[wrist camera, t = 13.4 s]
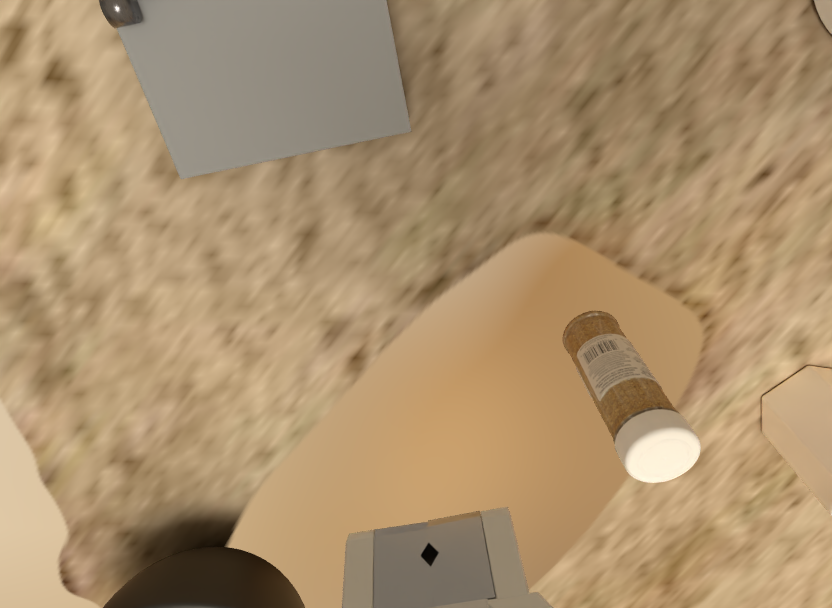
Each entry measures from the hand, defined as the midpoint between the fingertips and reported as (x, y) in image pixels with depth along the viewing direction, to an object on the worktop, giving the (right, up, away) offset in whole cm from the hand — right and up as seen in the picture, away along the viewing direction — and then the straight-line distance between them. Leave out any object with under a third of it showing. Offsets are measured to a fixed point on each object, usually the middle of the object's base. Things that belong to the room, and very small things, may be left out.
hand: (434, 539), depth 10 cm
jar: (+34, -4, +39) cm, 52 cm away
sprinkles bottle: (+14, +2, +34) cm, 36 cm away
